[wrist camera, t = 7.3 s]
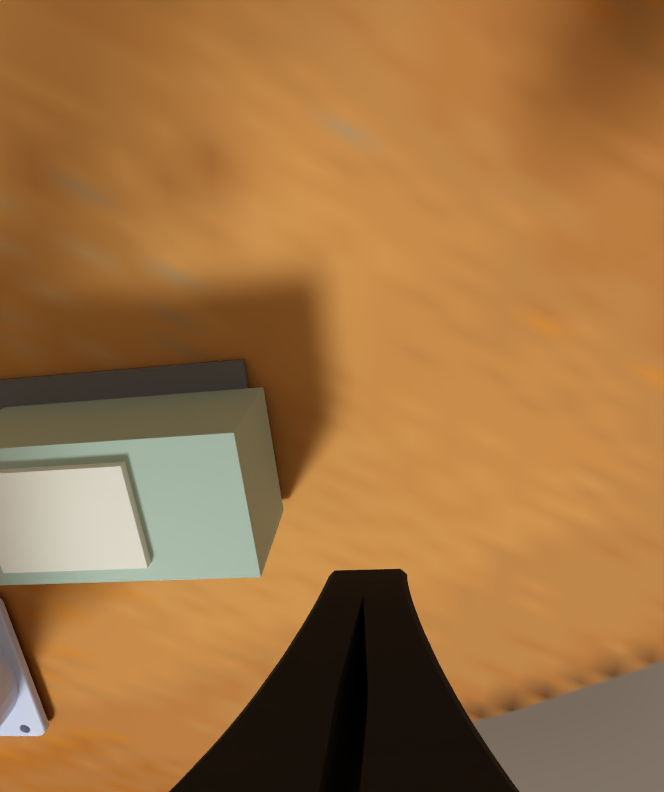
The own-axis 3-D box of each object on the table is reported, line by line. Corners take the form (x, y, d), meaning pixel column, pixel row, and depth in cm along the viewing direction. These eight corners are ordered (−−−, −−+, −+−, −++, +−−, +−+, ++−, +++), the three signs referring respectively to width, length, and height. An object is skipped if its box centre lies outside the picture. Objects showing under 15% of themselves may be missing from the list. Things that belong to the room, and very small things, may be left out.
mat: (40, 538, 24) (36, 543, 23) (-13, 380, 21) (-18, 383, 21) (273, 528, 22) (271, 533, 22) (244, 358, 20) (242, 361, 20)
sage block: (283, 510, 22) (42, 521, 23) (263, 387, 20) (5, 407, 21) (258, 583, 18) (-32, 592, 19) (231, 437, 16) (-85, 457, 17)
